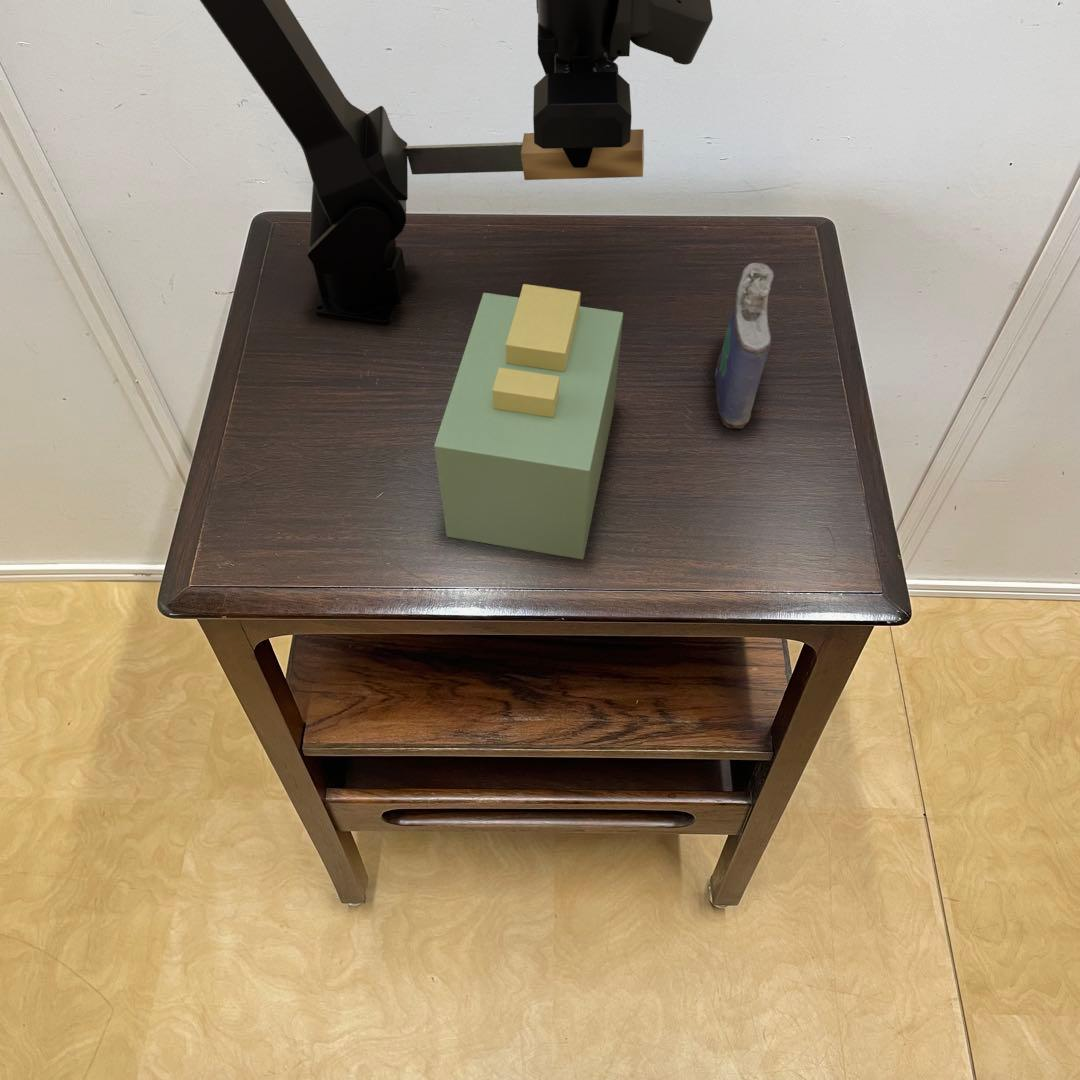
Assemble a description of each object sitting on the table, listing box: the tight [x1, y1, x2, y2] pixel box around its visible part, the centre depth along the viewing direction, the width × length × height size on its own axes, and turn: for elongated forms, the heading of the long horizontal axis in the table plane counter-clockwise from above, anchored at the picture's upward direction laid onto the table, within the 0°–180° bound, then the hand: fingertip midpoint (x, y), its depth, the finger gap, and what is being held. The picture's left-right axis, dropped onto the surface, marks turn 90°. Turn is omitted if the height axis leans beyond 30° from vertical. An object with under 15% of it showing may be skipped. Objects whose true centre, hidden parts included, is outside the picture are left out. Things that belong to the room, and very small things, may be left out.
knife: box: [405, 128, 645, 181], centre depth 76 cm, size 18×2×2 cm, turn 85°
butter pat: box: [492, 368, 560, 418], centre depth 64 cm, size 4×2×2 cm, turn 79°
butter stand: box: [433, 292, 624, 560], centre depth 70 cm, size 10×14×11 cm
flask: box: [714, 262, 775, 429], centre depth 75 cm, size 9×3×11 cm, turn 172°
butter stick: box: [506, 283, 582, 372], centre depth 67 cm, size 4×6×2 cm
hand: (579, 154), depth 75 cm, fingers closed on knife, 2 cm apart
